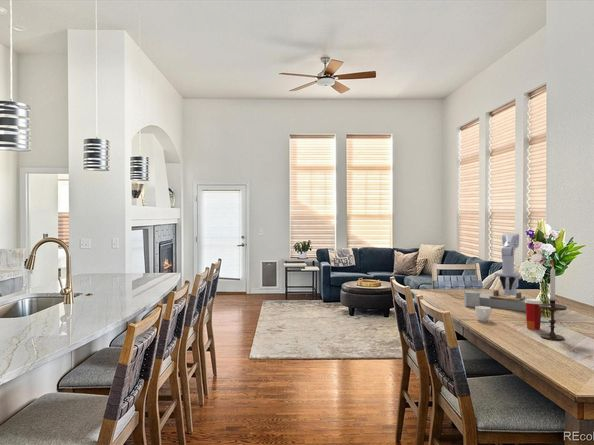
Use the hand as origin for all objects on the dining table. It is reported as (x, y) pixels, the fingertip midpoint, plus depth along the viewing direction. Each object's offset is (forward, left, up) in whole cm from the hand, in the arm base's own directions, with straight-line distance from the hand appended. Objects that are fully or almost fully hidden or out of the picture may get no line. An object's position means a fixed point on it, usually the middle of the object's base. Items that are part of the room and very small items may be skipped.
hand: (507, 289), depth 275 cm
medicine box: (+14, -16, -11) cm, 24 cm away
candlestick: (+63, +38, -11) cm, 74 cm away
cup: (+49, +3, -11) cm, 50 cm away
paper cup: (+50, +27, -11) cm, 58 cm away
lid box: (0, 0, -10) cm, 10 cm away
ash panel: (0, +4, -5) cm, 7 cm away
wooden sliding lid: (0, -4, -5) cm, 7 cm away
